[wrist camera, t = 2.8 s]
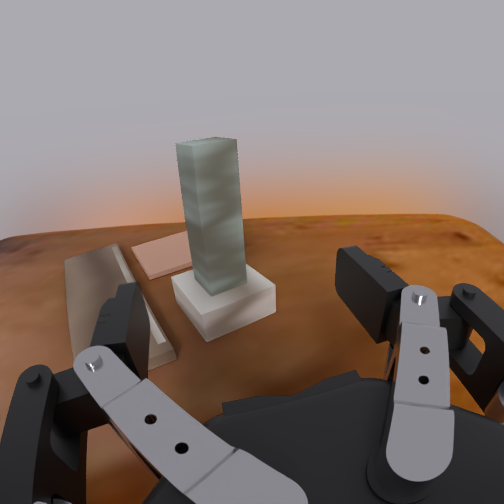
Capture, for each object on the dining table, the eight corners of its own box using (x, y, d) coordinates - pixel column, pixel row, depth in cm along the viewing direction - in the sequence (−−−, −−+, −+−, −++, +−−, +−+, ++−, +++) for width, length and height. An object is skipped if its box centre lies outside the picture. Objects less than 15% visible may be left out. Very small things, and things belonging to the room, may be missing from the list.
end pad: (149, 280, 29) (148, 275, 29) (132, 251, 36) (131, 247, 35) (221, 256, 33) (221, 251, 33) (192, 232, 39) (191, 229, 39)
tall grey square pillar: (206, 342, 21) (176, 152, 16) (176, 302, 26) (148, 146, 20) (275, 311, 24) (270, 138, 18) (237, 279, 29) (224, 133, 23)
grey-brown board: (84, 393, 17) (77, 383, 16) (66, 267, 33) (64, 259, 32) (177, 359, 20) (173, 348, 19) (118, 250, 36) (116, 242, 36)
